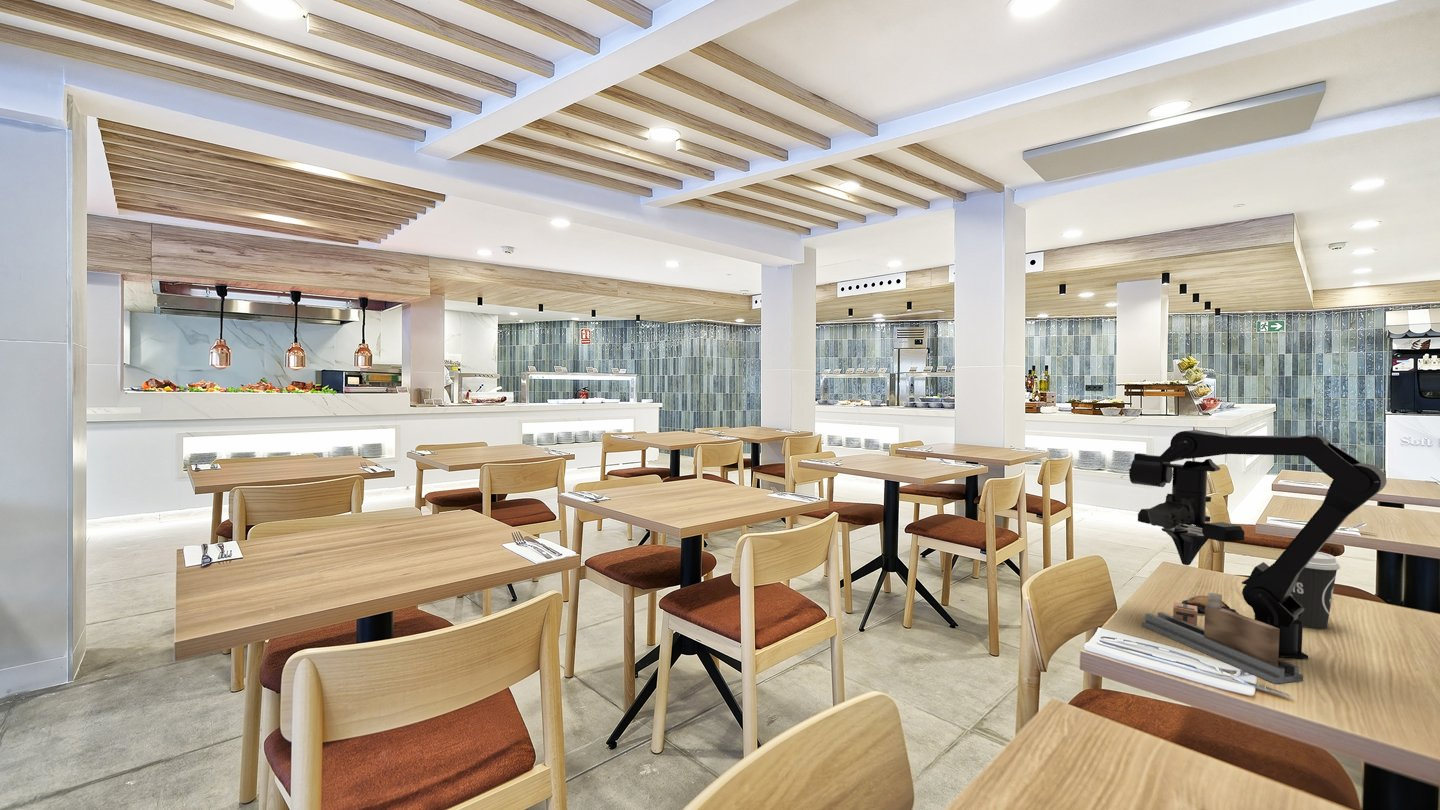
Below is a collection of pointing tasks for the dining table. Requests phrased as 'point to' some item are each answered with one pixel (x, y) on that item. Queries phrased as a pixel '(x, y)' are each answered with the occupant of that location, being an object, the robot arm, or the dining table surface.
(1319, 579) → the coffee cup
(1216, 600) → the screen
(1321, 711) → the dining table surface
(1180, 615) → the lettered cube
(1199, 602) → the bread roll
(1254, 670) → the track
